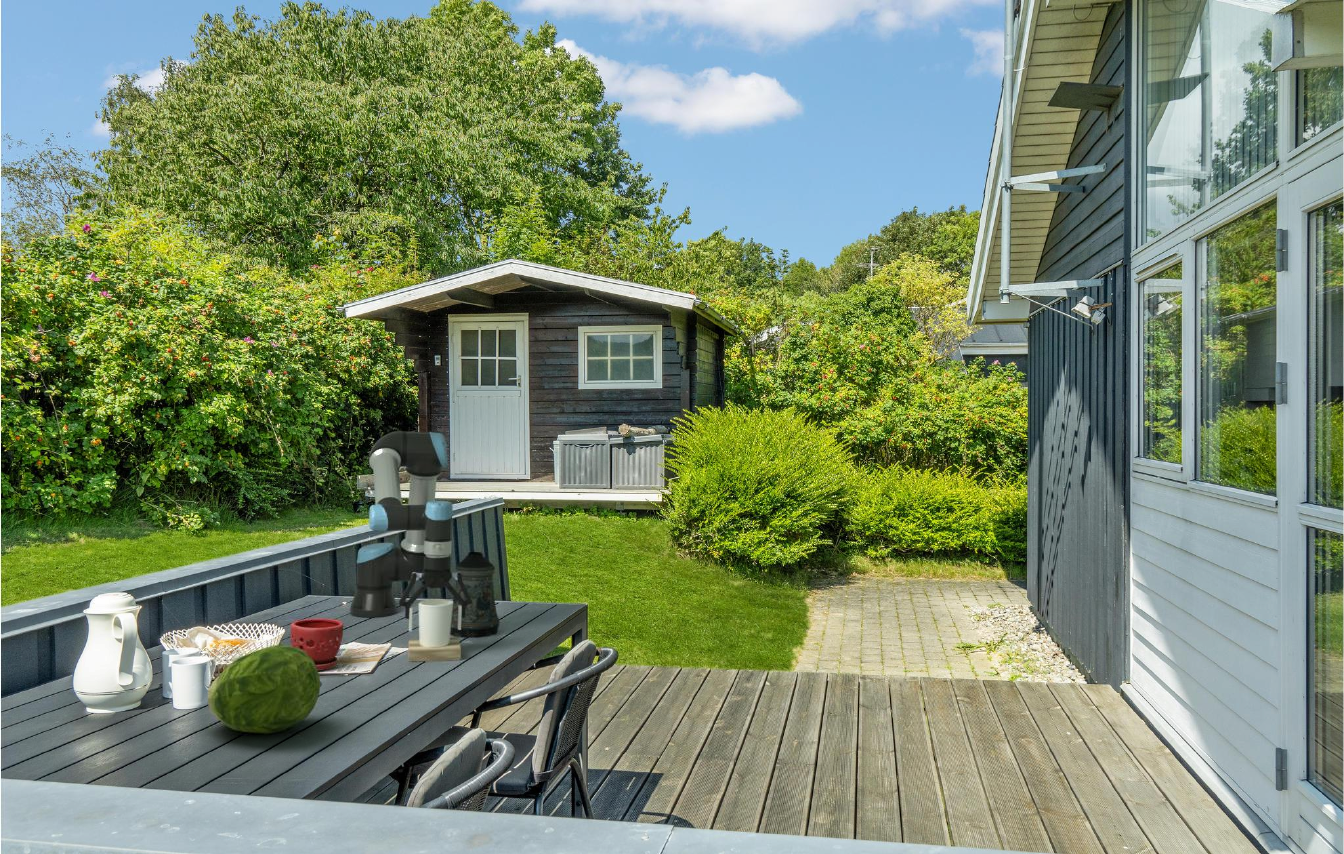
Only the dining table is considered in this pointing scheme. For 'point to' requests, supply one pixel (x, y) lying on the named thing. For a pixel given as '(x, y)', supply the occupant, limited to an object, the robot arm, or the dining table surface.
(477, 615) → the beer stein
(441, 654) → the plinth
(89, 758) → the dining table surface
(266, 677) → the lettuce
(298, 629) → the plant pot
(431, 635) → the candle holder
